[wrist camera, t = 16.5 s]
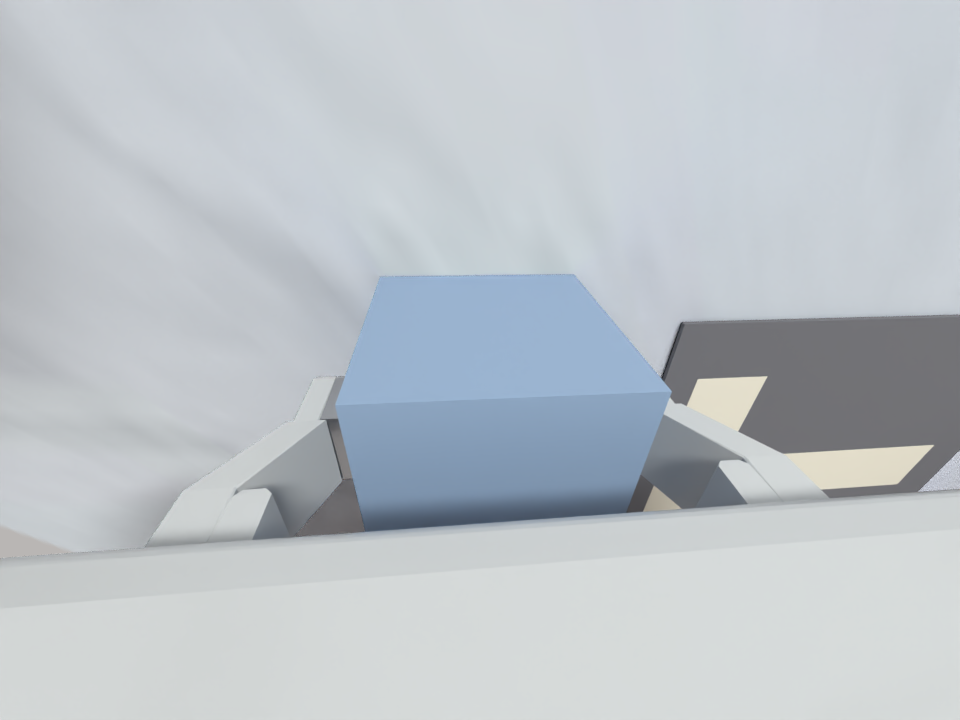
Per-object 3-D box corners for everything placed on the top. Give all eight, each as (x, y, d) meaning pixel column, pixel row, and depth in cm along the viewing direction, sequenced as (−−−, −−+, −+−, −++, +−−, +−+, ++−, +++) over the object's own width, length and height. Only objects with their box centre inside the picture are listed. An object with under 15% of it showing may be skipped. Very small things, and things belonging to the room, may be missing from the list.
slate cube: (573, 274, 10) (671, 391, 6) (550, 417, 13) (605, 567, 9) (379, 277, 9) (334, 405, 5) (398, 424, 12) (379, 586, 8)
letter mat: (1091, 311, 12) (1098, 313, 12) (851, 552, 20) (853, 555, 20) (682, 322, 11) (685, 324, 11) (593, 574, 19) (595, 577, 19)
